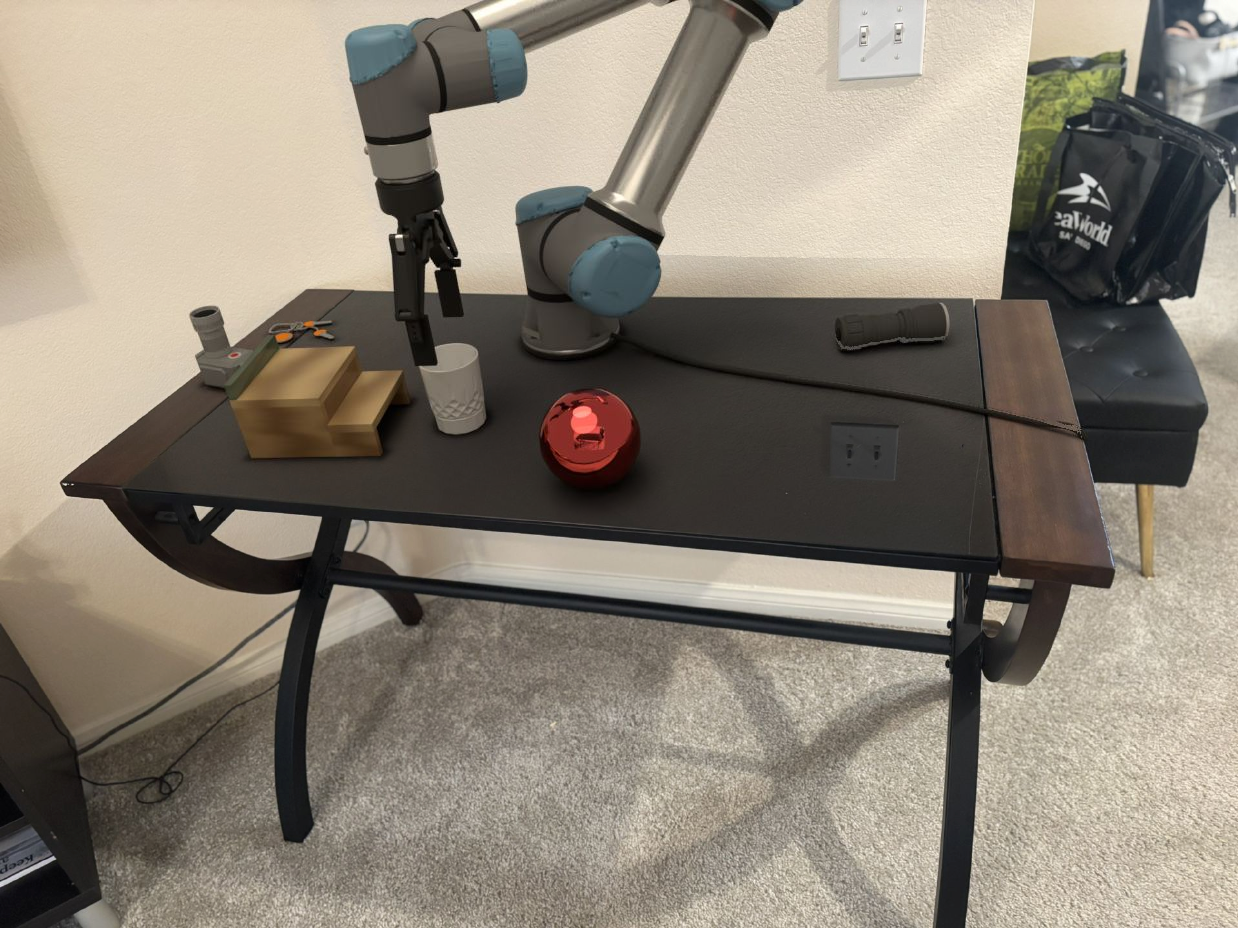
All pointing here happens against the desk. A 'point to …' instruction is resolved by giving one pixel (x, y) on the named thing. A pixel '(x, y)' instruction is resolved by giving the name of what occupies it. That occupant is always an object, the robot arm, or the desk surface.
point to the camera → (215, 347)
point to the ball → (590, 438)
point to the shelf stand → (311, 402)
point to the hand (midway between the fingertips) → (440, 339)
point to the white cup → (455, 388)
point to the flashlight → (893, 325)
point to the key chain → (287, 336)
